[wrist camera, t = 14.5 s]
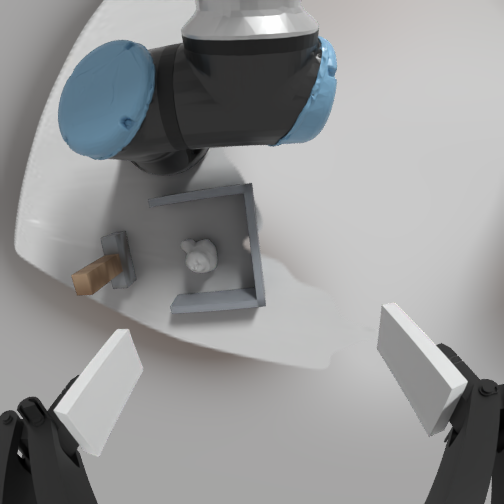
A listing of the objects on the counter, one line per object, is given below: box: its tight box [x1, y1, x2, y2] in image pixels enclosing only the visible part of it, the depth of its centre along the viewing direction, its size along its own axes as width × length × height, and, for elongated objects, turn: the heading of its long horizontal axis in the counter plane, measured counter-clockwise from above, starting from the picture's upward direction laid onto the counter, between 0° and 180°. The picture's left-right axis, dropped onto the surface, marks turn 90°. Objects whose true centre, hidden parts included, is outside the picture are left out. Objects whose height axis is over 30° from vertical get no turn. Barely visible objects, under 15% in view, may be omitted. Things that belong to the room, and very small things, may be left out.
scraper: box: [71, 231, 136, 295], centre depth 38 cm, size 9×3×14 cm, turn 7°
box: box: [148, 183, 266, 314], centre depth 42 cm, size 18×15×5 cm
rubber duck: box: [181, 239, 218, 273], centre depth 41 cm, size 5×7×8 cm
